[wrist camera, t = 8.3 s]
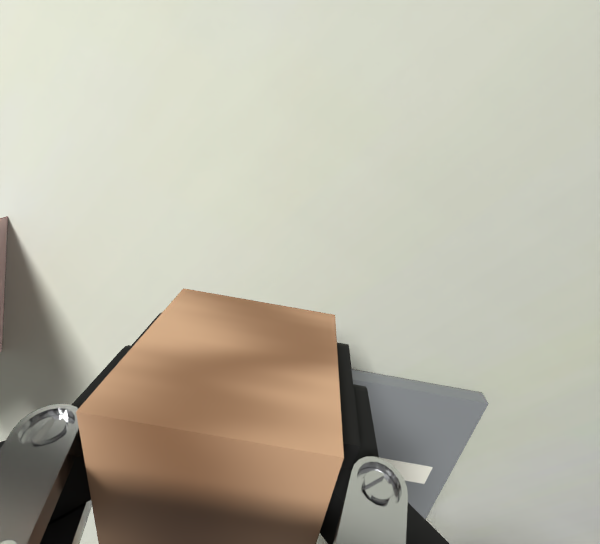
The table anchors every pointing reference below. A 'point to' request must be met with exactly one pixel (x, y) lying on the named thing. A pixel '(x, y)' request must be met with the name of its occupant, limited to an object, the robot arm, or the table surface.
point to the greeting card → (2, 270)
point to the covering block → (217, 427)
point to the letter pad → (420, 430)
